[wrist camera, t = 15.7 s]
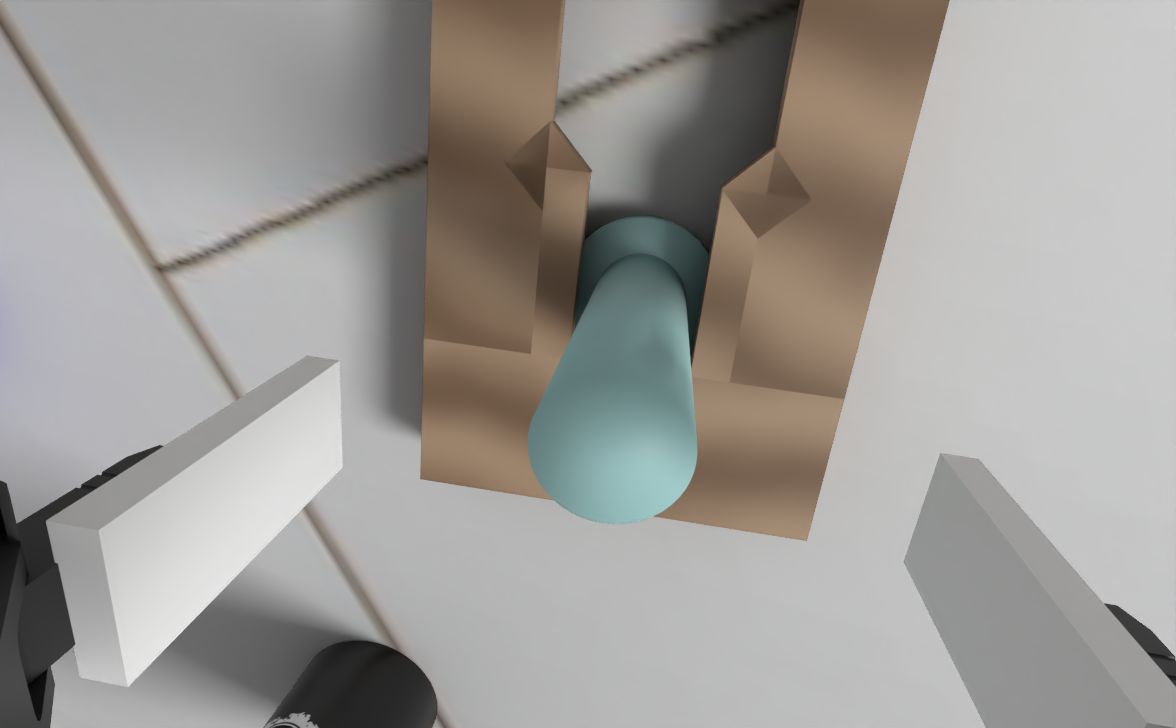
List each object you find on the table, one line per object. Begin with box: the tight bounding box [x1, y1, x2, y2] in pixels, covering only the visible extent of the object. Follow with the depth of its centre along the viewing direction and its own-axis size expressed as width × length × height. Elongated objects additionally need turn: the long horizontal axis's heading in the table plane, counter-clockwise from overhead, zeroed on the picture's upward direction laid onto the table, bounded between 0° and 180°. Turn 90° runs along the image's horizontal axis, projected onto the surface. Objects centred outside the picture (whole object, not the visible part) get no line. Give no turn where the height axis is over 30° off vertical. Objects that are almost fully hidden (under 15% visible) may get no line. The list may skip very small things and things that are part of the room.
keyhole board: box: [420, 0, 950, 541], centre depth 27 cm, size 28×18×3 cm, turn 174°
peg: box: [528, 215, 709, 524], centre depth 23 cm, size 7×7×16 cm
